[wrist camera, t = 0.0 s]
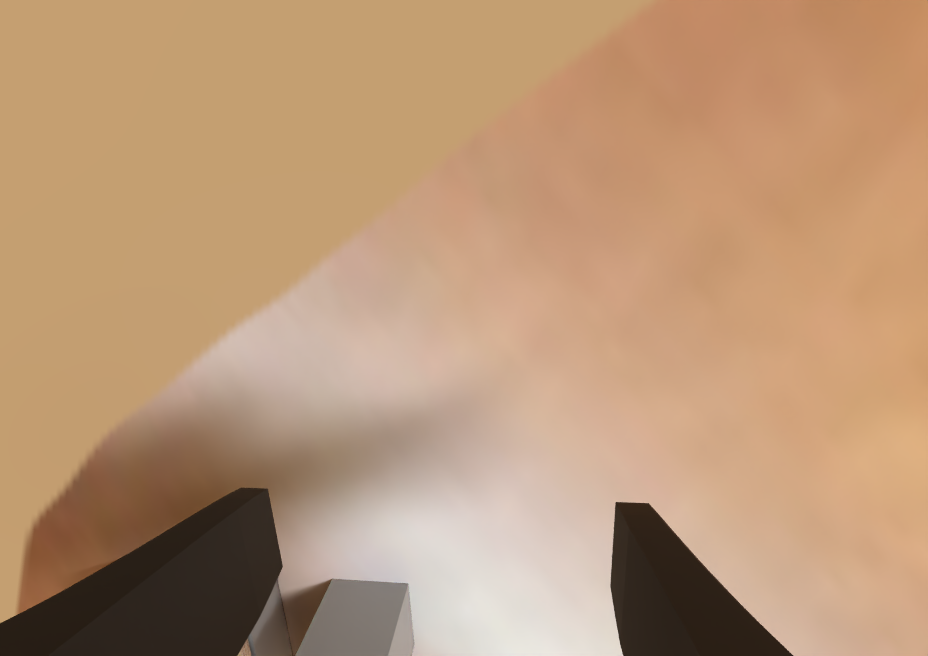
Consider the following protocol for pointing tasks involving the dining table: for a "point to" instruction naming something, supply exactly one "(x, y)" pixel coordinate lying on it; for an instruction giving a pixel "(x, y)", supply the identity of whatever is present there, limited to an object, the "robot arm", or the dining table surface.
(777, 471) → the dining table surface
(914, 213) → the dining table surface
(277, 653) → the case
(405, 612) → the block
